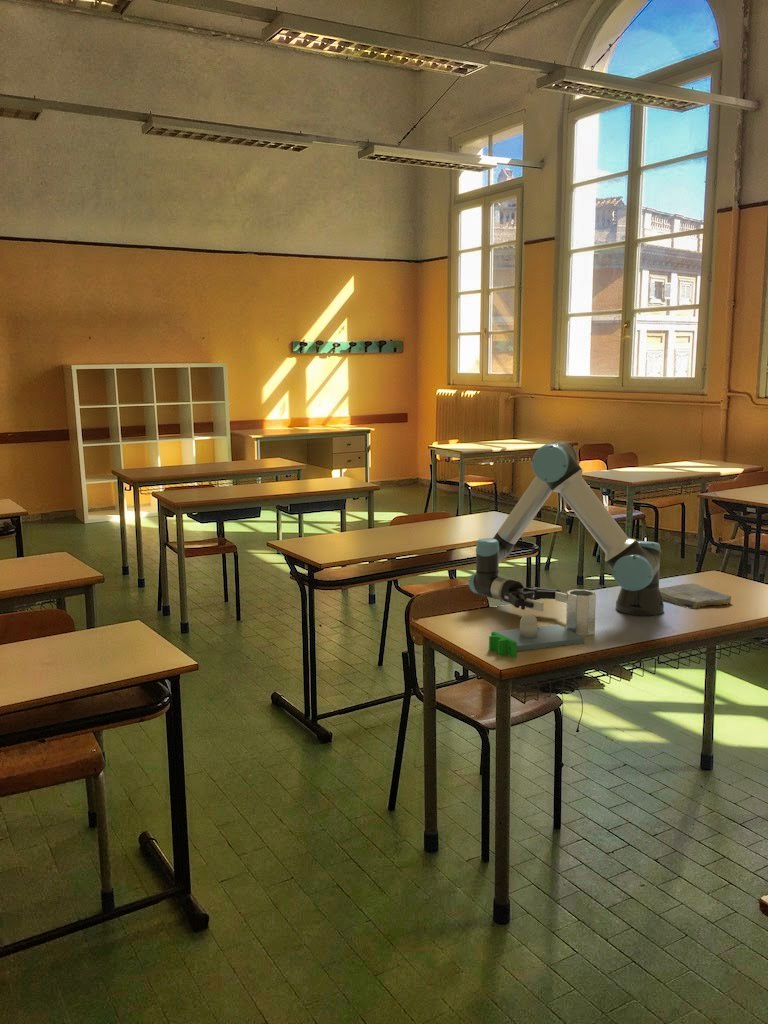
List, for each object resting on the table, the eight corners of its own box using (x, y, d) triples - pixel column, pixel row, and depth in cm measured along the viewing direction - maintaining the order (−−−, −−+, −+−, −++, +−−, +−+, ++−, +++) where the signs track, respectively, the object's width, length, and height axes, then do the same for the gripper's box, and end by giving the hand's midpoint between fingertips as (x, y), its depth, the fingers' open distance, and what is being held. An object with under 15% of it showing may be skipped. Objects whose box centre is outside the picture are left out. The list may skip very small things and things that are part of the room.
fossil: (695, 614, 282) (735, 605, 289) (695, 601, 281) (734, 592, 288) (653, 602, 300) (691, 593, 307) (653, 589, 299) (690, 581, 306)
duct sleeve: (578, 626, 265) (579, 588, 263) (599, 632, 259) (601, 593, 257) (560, 631, 260) (561, 592, 258) (582, 637, 254) (583, 597, 252)
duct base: (558, 629, 262) (558, 603, 261) (584, 643, 248) (584, 616, 247) (492, 636, 256) (492, 610, 254) (515, 651, 242) (515, 623, 240)
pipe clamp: (483, 648, 245) (483, 633, 244) (494, 646, 247) (494, 631, 246) (505, 659, 235) (505, 643, 234) (516, 657, 237) (516, 641, 236)
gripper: (533, 595, 290) (583, 608, 274) (480, 608, 275) (529, 622, 258) (534, 573, 289) (584, 585, 272) (480, 585, 274) (530, 598, 257)
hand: (557, 603), depth 265 cm, fingers open, 13 cm apart
